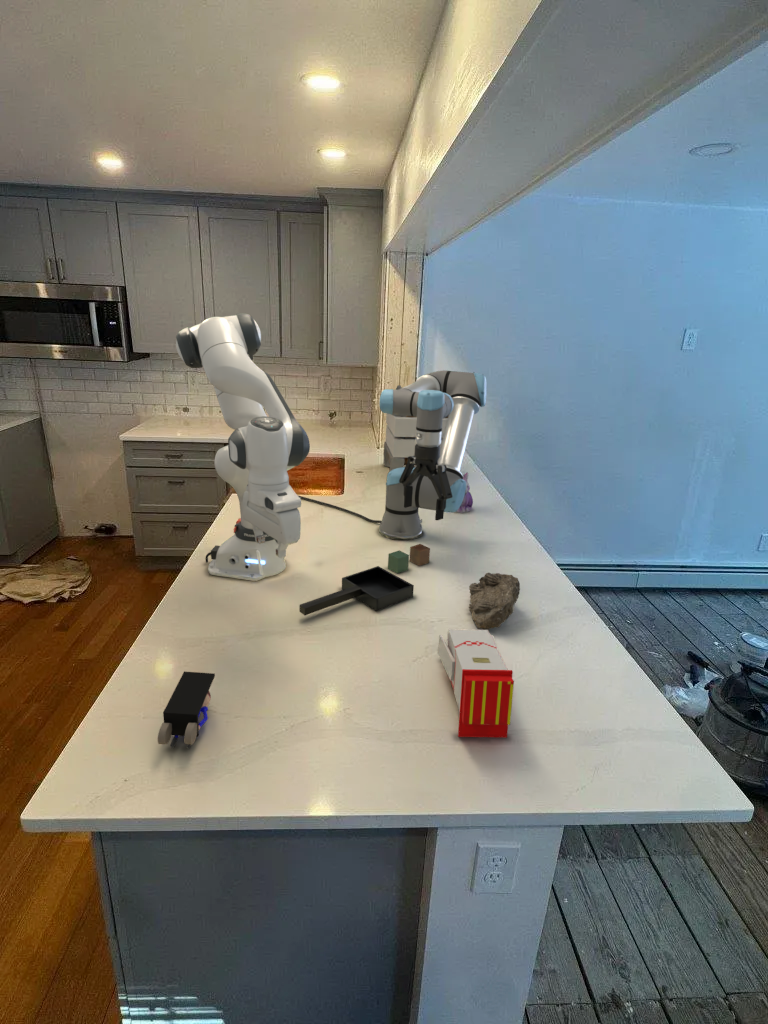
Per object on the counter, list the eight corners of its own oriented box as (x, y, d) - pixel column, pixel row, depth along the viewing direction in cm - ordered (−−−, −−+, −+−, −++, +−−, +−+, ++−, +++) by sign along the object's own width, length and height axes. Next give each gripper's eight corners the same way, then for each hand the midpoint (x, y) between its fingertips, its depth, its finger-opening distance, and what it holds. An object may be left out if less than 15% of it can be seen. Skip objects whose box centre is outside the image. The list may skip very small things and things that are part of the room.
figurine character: (198, 762, 99) (219, 698, 112) (193, 731, 96) (215, 669, 109) (159, 761, 99) (184, 698, 112) (153, 730, 95) (180, 668, 109)
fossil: (461, 576, 160) (507, 550, 155) (480, 600, 163) (525, 575, 158) (463, 624, 140) (516, 596, 135) (485, 650, 143) (537, 624, 138)
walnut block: (409, 561, 179) (410, 546, 177) (419, 558, 181) (420, 543, 180) (418, 566, 175) (420, 551, 174) (429, 562, 178) (430, 548, 177)
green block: (387, 568, 173) (388, 553, 171) (398, 565, 176) (399, 550, 174) (397, 573, 170) (398, 558, 168) (408, 570, 173) (409, 555, 171)
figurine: (459, 514, 221) (463, 477, 216) (445, 506, 229) (448, 470, 224) (479, 511, 225) (483, 475, 220) (464, 503, 234) (467, 468, 228)
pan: (286, 608, 148) (285, 594, 146) (377, 576, 167) (378, 564, 166) (319, 633, 137) (319, 619, 136) (413, 597, 157) (413, 584, 155)
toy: (488, 613, 130) (523, 677, 101) (484, 667, 133) (517, 744, 104) (435, 612, 130) (455, 676, 101) (432, 666, 133) (451, 743, 103)
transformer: (382, 463, 289) (386, 382, 275) (445, 464, 293) (451, 384, 279) (390, 482, 257) (394, 392, 243) (460, 483, 261) (468, 394, 247)
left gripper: (234, 482, 131) (236, 537, 135) (279, 507, 116) (280, 568, 121) (258, 478, 135) (260, 532, 139) (305, 502, 120) (305, 561, 125)
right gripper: (390, 437, 172) (386, 503, 179) (450, 455, 154) (444, 527, 162) (407, 435, 177) (404, 499, 184) (468, 451, 159) (461, 522, 166)
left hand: (270, 549), depth 130 cm, fingers open, 8 cm apart
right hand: (423, 512), depth 173 cm, fingers open, 13 cm apart
